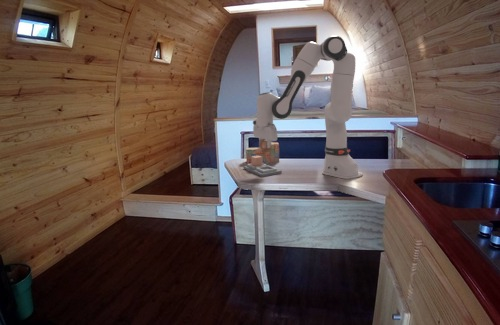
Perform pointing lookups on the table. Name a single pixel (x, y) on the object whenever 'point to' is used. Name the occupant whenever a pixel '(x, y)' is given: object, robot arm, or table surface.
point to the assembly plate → (261, 167)
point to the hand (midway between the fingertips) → (265, 146)
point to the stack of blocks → (267, 156)
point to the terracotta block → (264, 146)
